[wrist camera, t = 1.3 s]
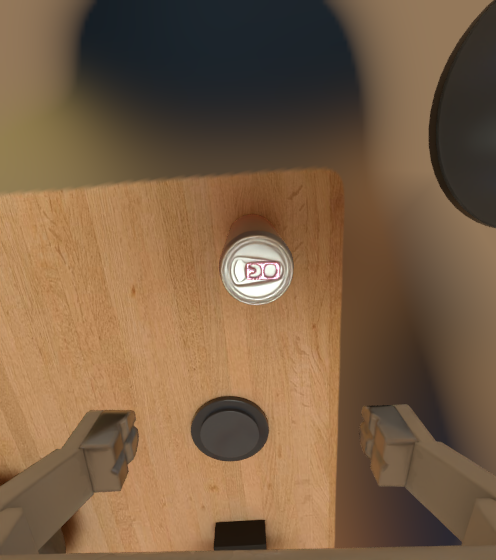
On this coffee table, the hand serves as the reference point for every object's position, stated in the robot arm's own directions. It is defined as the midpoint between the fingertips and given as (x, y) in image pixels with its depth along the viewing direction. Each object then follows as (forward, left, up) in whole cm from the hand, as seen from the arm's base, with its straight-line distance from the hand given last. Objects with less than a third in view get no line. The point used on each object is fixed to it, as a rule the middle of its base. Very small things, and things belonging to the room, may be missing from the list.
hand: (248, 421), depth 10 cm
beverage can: (-1, -1, -28) cm, 28 cm away
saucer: (+10, +27, -28) cm, 40 cm away
